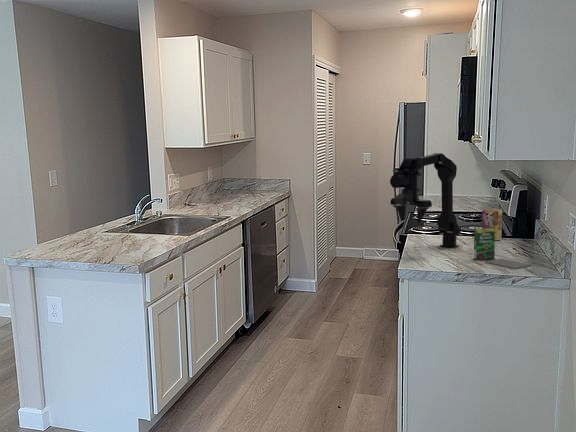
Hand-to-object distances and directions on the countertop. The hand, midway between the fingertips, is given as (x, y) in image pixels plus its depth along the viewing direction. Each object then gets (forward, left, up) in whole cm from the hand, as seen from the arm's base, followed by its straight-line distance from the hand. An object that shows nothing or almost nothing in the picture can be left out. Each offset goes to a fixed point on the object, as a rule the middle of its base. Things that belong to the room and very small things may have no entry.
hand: (410, 222), depth 236 cm
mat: (-15, +38, -15) cm, 43 cm away
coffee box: (-16, +26, -15) cm, 34 cm away
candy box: (-58, +3, -15) cm, 60 cm away
